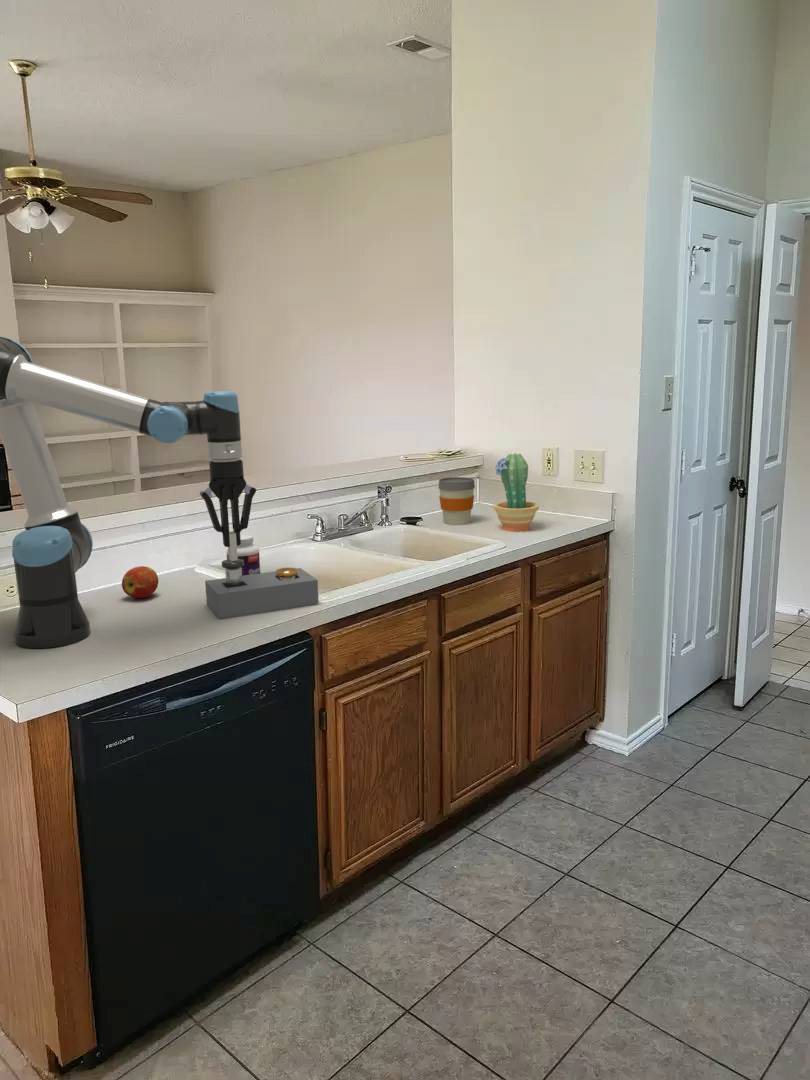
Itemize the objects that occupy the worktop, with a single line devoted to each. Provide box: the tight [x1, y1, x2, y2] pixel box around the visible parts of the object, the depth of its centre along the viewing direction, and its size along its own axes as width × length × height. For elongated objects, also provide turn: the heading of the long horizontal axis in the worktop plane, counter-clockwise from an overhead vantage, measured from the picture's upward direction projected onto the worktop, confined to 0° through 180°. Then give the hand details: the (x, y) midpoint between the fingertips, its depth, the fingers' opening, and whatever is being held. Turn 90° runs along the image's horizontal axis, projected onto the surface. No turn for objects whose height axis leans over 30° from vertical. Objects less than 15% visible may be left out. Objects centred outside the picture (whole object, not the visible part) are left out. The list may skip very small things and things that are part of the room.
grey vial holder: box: [204, 567, 320, 620], centre depth 203 cm, size 24×13×6 cm, turn 115°
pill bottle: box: [226, 534, 261, 576], centre depth 212 cm, size 8×8×14 cm
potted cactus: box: [493, 453, 540, 532], centre depth 279 cm, size 15×15×25 cm
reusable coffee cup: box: [438, 476, 476, 526], centre depth 292 cm, size 13×13×15 cm
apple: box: [121, 565, 159, 599], centre depth 211 cm, size 8×8×8 cm
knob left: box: [221, 559, 244, 588], centre depth 199 cm, size 5×5×8 cm
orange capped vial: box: [275, 567, 298, 581], centre depth 205 cm, size 5×5×8 cm
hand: (233, 559), depth 198 cm, fingers closed
